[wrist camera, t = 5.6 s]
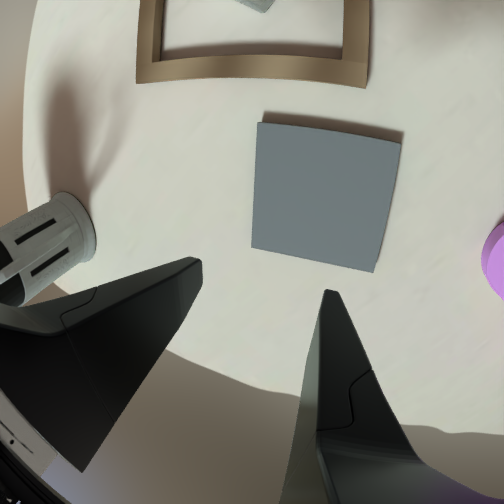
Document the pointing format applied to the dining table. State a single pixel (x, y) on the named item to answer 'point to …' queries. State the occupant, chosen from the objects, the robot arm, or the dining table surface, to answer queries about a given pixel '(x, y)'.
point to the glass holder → (43, 247)
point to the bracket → (494, 260)
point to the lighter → (257, 4)
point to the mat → (322, 194)
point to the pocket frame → (256, 66)
